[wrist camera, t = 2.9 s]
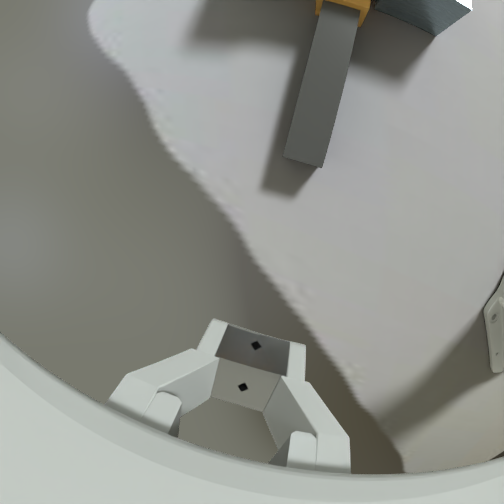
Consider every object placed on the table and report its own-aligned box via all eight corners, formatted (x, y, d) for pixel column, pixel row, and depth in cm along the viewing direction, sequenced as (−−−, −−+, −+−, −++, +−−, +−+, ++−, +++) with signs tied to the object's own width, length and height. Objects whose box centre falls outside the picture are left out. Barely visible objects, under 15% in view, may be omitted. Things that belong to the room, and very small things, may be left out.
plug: (325, 167, 24) (330, 171, 20) (278, 153, 24) (273, 154, 20) (368, -15, 16) (376, -35, 12) (325, -26, 16) (327, -49, 12)
